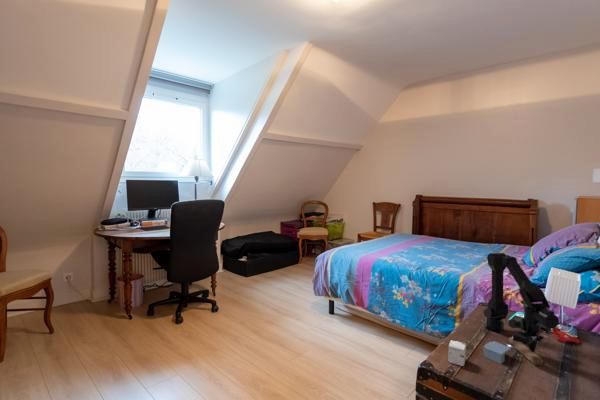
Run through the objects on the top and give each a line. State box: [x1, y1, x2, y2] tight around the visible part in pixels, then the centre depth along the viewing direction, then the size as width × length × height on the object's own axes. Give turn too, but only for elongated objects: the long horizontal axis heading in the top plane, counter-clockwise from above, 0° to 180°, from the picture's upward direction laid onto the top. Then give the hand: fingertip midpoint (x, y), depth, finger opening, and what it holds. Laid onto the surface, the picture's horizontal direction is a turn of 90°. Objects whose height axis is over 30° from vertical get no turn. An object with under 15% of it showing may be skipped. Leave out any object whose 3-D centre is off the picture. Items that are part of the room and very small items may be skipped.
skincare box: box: [447, 339, 467, 367], centre depth 133 cm, size 6×6×7 cm
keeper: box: [483, 340, 512, 365], centre depth 136 cm, size 8×9×4 cm
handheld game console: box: [508, 311, 524, 321], centre depth 170 cm, size 10×16×1 cm, turn 130°
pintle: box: [504, 335, 517, 350], centre depth 144 cm, size 7×7×4 cm
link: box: [508, 336, 544, 366], centre depth 137 cm, size 18×4×2 cm, turn 176°
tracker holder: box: [551, 326, 581, 344], centre depth 150 cm, size 12×4×10 cm
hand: (532, 352), depth 136 cm, fingers closed
